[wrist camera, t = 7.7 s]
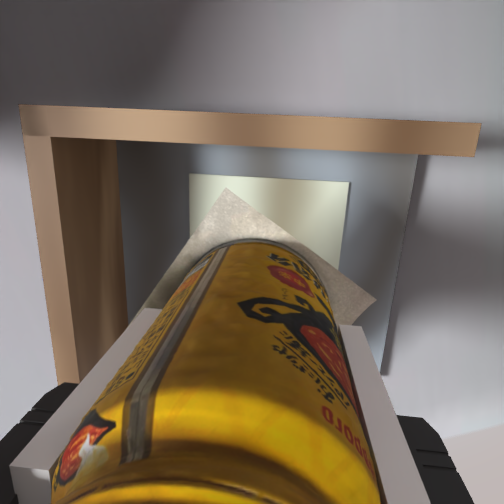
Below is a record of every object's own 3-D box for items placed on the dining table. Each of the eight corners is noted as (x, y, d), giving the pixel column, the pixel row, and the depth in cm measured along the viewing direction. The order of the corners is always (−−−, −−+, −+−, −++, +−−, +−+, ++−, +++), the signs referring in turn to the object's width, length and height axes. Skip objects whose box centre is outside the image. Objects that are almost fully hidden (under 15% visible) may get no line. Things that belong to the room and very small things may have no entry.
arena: (120, 351, 26) (63, 423, 19) (102, 114, 21) (18, 104, 15) (374, 374, 25) (406, 461, 18) (416, 128, 20) (481, 123, 13)
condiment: (375, 297, 14) (719, 913, 3) (250, 428, 17) (170, 1037, 5) (226, 185, 14) (-95, 426, 2) (118, 339, 16) (-298, 829, 5)
